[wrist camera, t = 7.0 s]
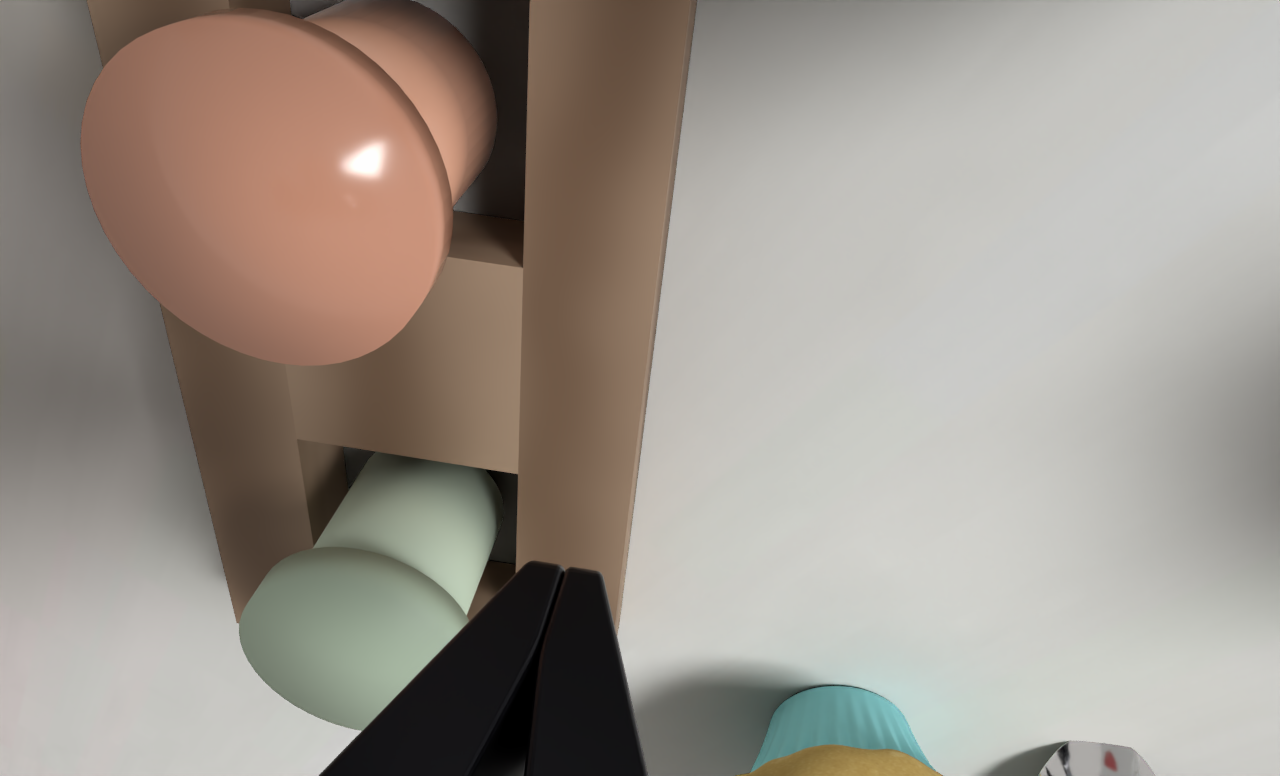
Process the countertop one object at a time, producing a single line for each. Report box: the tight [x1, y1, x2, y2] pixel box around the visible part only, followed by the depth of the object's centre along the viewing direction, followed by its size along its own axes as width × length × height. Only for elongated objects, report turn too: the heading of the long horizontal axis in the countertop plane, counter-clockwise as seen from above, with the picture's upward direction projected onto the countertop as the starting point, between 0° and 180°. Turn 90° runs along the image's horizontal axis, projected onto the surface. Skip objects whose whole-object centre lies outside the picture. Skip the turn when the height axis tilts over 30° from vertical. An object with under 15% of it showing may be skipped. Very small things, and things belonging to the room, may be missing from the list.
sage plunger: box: [239, 452, 504, 731], centre depth 24 cm, size 6×6×6 cm
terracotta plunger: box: [80, 0, 497, 366], centre depth 16 cm, size 6×6×6 cm
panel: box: [87, 0, 697, 634], centre depth 22 cm, size 12×22×2 cm, turn 174°
